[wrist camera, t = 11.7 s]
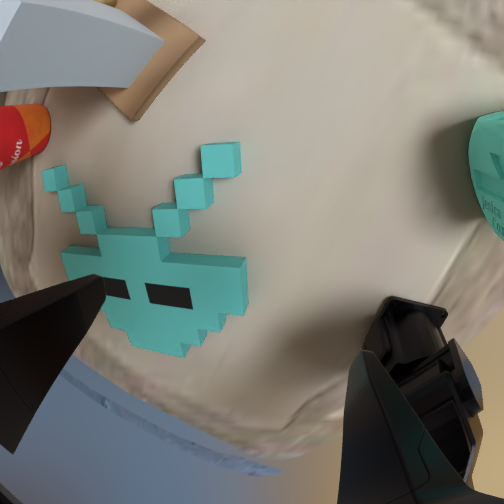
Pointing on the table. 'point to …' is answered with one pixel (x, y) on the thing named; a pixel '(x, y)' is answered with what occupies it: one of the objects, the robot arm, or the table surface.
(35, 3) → the pale blue upright block
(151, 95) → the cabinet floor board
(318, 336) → the table surface
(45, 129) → the paper cup
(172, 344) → the alien figure
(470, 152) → the decorative dice
